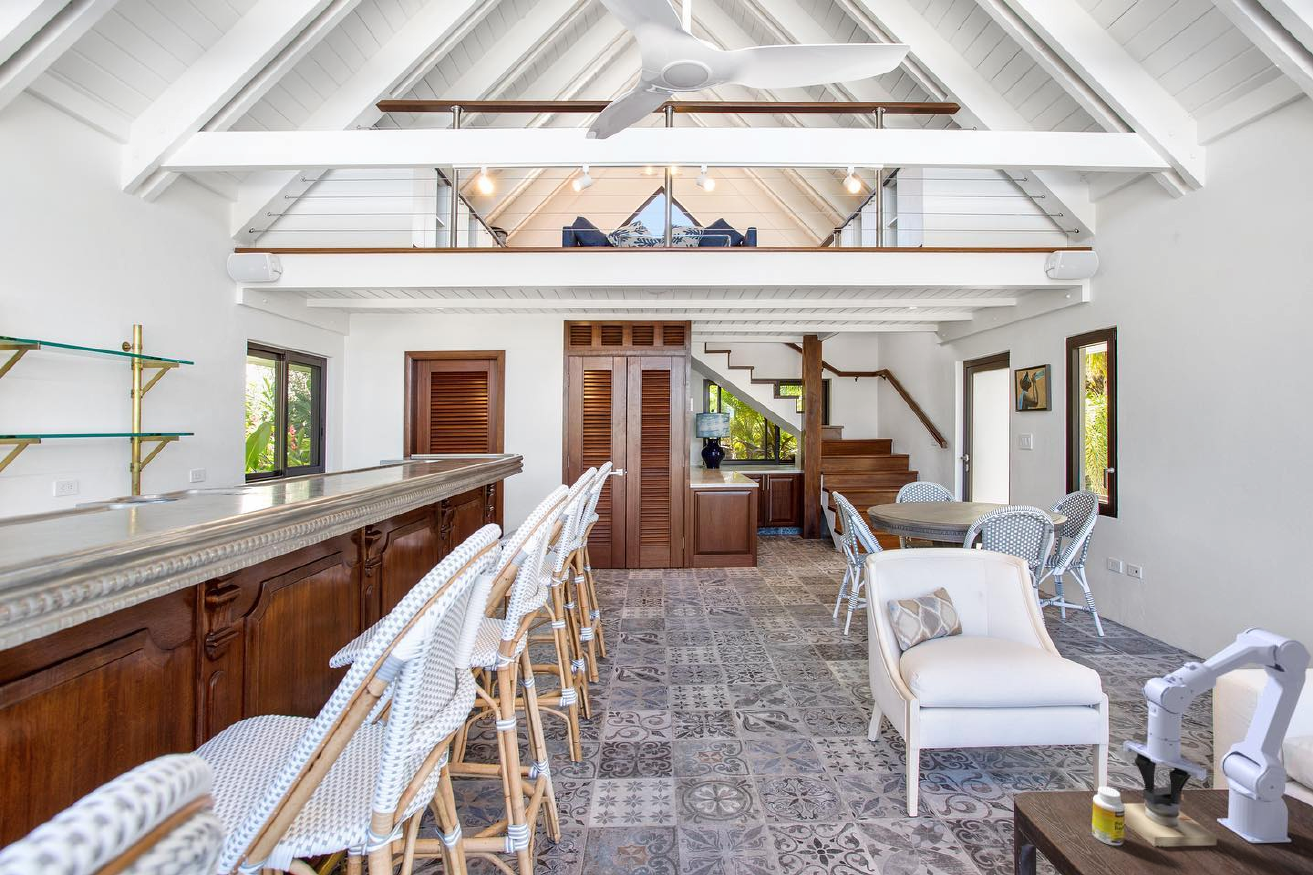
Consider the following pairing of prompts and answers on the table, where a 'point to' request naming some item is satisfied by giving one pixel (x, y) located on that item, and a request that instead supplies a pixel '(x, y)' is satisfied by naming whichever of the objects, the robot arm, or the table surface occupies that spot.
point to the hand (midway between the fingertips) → (1161, 796)
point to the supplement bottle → (1108, 816)
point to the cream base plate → (1166, 828)
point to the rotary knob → (1161, 801)
